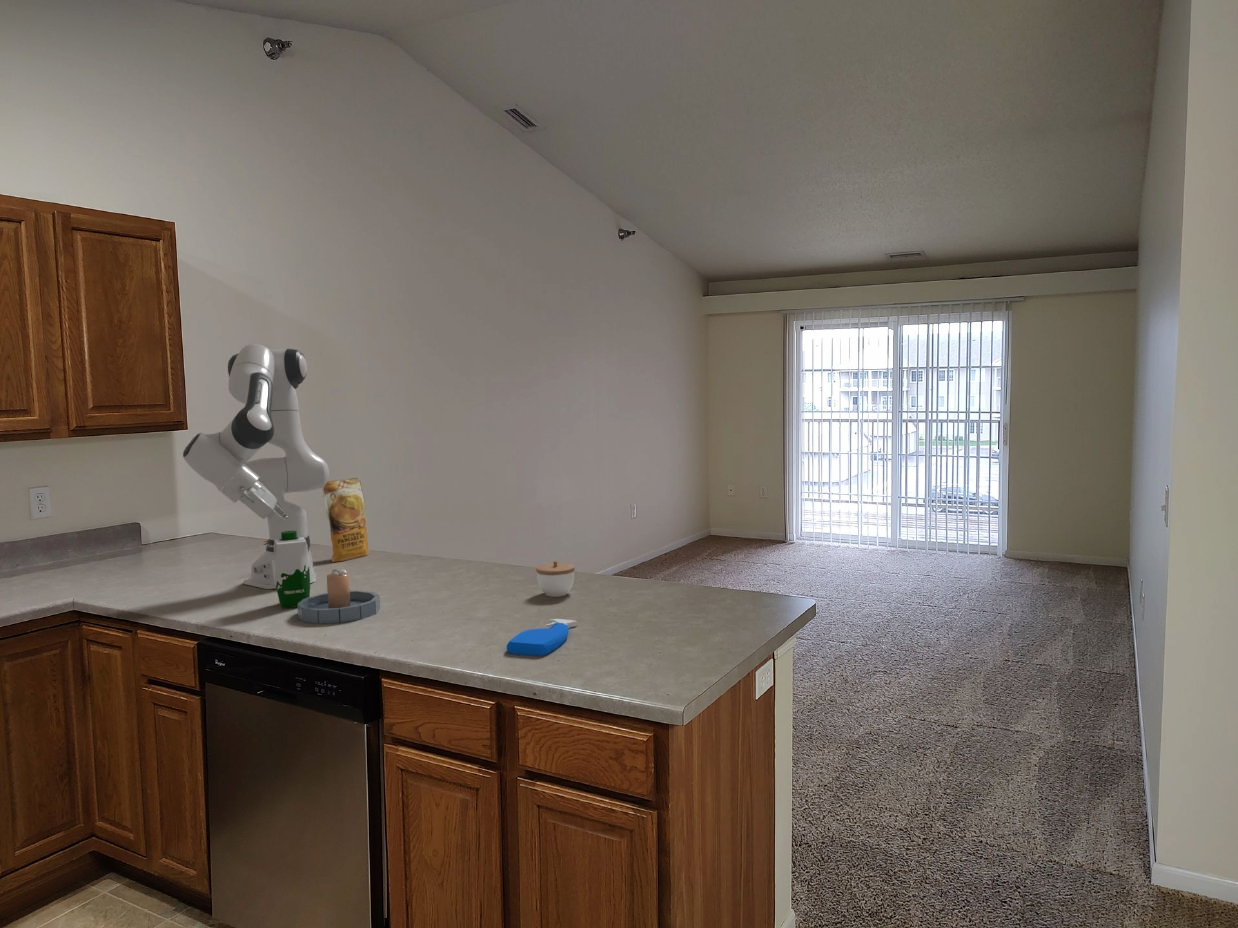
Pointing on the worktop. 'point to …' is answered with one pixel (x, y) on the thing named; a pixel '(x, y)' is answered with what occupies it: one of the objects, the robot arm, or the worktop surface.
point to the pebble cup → (338, 589)
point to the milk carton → (291, 569)
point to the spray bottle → (541, 638)
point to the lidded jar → (555, 578)
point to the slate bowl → (319, 612)
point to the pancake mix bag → (346, 519)
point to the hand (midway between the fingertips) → (285, 521)
